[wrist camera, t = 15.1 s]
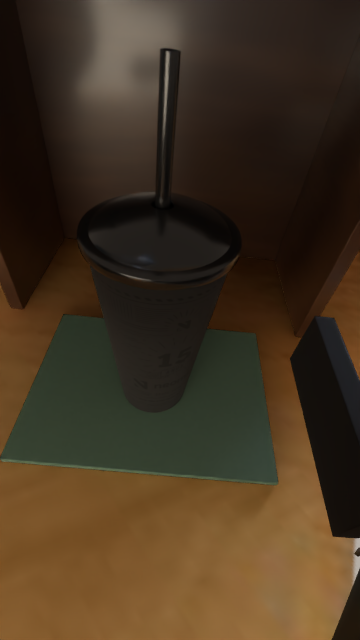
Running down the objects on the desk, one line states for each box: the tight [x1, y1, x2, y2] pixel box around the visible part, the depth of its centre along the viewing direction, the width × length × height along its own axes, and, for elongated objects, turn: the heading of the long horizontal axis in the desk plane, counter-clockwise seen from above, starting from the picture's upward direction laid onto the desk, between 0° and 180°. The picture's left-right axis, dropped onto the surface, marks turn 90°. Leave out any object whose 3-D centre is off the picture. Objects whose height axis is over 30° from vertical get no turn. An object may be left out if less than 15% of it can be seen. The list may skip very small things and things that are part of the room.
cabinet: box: [0, 0, 360, 337], centre depth 25 cm, size 14×28×26 cm, turn 87°
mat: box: [0, 314, 278, 485], centre depth 25 cm, size 13×18×1 cm
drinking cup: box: [77, 48, 242, 413], centre depth 17 cm, size 8×8×20 cm
